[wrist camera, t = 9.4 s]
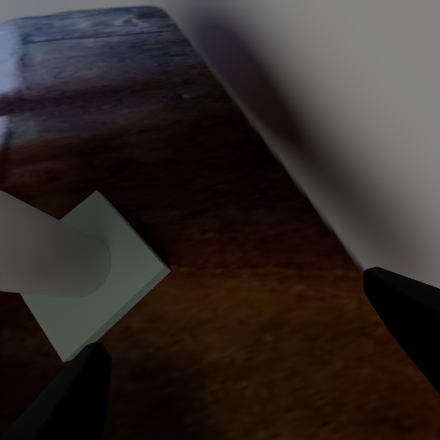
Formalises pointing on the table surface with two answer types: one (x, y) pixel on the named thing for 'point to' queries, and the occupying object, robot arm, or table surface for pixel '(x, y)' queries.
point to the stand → (113, 286)
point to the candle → (47, 254)
